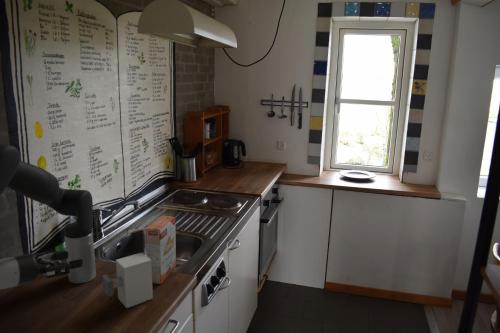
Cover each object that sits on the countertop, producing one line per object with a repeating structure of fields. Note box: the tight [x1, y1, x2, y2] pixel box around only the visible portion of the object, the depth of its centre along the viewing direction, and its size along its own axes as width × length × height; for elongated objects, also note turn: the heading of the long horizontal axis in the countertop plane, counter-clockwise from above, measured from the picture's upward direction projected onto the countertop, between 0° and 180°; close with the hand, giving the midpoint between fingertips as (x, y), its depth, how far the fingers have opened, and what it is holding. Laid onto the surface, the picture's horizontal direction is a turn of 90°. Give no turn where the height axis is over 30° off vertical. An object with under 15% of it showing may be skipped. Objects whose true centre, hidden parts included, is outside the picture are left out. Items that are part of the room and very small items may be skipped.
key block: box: [115, 252, 154, 309], centre depth 126 cm, size 7×9×14 cm
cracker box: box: [145, 215, 177, 285], centre depth 141 cm, size 14×6×21 cm, turn 168°
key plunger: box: [101, 273, 123, 298], centre depth 122 cm, size 5×8×5 cm, turn 130°
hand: (74, 258), depth 111 cm, fingers open, 8 cm apart
